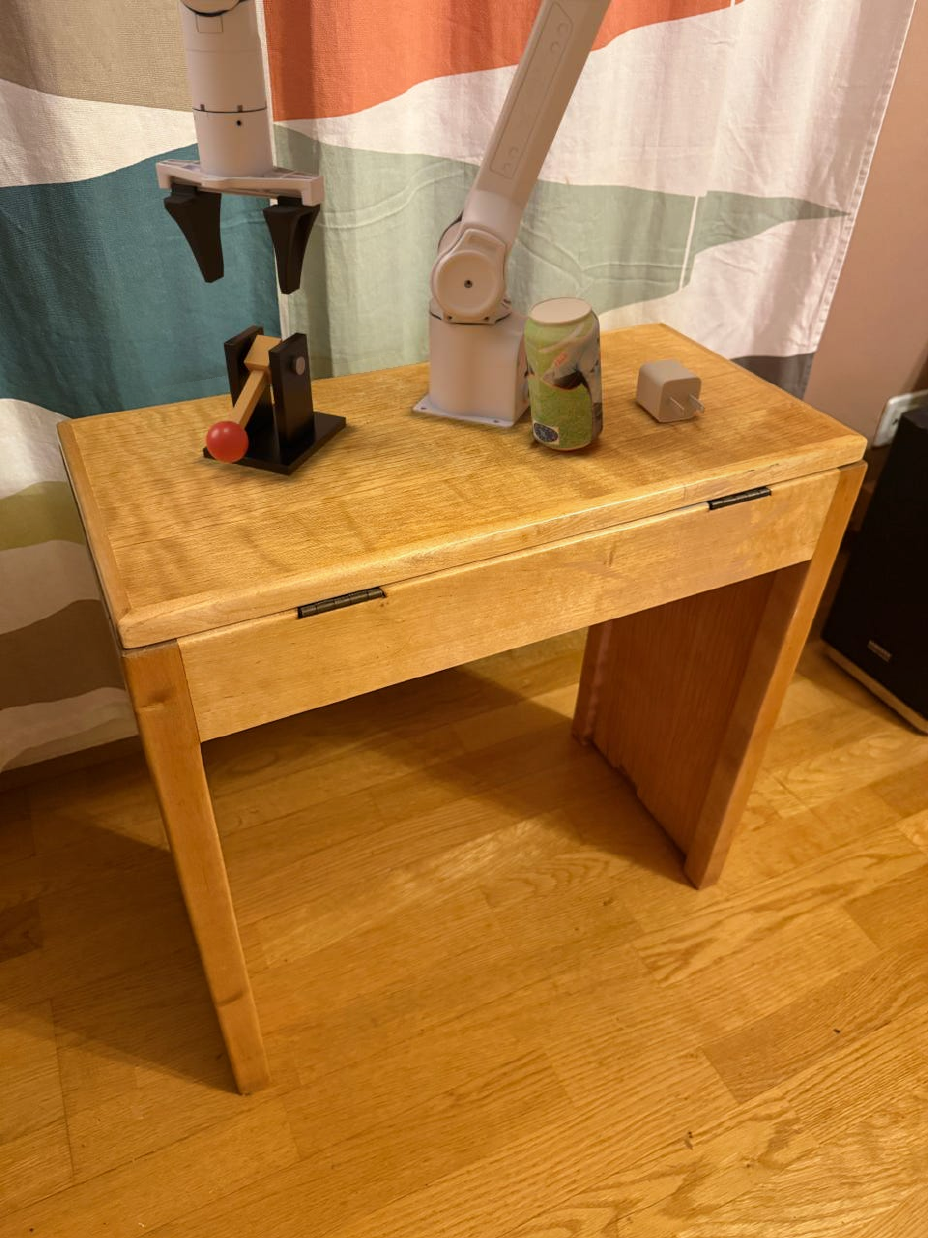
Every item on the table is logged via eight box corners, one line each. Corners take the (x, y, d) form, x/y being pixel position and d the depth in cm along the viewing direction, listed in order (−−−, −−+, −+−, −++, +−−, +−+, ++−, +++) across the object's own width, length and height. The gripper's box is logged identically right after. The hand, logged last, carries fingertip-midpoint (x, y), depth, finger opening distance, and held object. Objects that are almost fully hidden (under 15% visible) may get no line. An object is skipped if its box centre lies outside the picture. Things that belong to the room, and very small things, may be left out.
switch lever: (244, 474, 71) (228, 450, 68) (209, 466, 72) (192, 443, 69) (298, 362, 75) (285, 335, 72) (264, 356, 76) (250, 329, 73)
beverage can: (615, 446, 79) (633, 306, 71) (547, 467, 75) (558, 322, 68) (570, 419, 83) (582, 284, 76) (503, 437, 80) (510, 299, 72)
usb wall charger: (672, 399, 87) (679, 358, 84) (710, 429, 82) (718, 387, 79) (634, 403, 86) (640, 362, 83) (669, 435, 80) (677, 392, 78)
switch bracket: (289, 480, 73) (277, 368, 67) (204, 461, 75) (185, 352, 70) (347, 429, 80) (339, 324, 75) (267, 414, 83) (255, 311, 77)
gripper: (119, 107, 70) (153, 287, 78) (285, 122, 66) (303, 310, 74) (175, 95, 75) (201, 265, 83) (331, 108, 71) (343, 285, 79)
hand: (252, 285), depth 79 cm, fingers open, 7 cm apart
